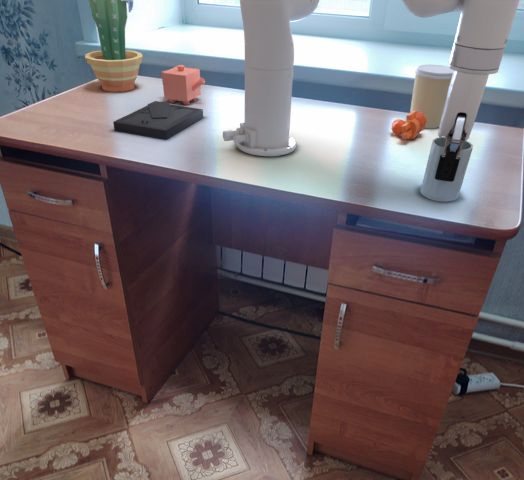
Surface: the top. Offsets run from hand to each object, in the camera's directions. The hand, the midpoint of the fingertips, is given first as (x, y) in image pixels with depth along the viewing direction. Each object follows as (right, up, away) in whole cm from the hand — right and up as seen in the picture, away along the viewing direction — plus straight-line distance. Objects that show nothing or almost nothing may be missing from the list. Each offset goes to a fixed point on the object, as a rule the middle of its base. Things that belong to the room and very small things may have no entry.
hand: (445, 171), depth 89 cm
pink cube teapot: (-53, +34, +44) cm, 76 cm away
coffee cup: (+8, +24, +35) cm, 43 cm away
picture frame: (-56, +21, +29) cm, 67 cm away
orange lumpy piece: (0, +17, +27) cm, 32 cm away
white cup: (0, -3, +3) cm, 4 cm away
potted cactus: (-73, +42, +52) cm, 99 cm away
